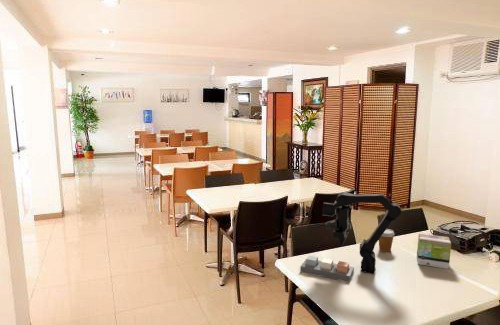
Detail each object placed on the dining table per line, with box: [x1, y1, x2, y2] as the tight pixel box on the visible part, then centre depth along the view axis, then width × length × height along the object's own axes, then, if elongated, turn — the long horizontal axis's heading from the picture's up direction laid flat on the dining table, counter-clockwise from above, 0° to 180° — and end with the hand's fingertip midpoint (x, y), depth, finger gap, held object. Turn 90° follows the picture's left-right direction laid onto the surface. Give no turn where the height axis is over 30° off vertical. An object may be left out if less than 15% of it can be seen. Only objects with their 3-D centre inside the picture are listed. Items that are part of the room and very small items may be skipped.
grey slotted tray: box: [299, 259, 355, 283], centre depth 180 cm, size 25×11×3 cm, turn 64°
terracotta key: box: [336, 260, 350, 273], centre depth 176 cm, size 5×5×5 cm
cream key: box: [320, 257, 334, 270], centre depth 180 cm, size 5×5×5 cm
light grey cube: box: [305, 255, 319, 267], centre depth 184 cm, size 5×5×5 cm
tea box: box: [416, 233, 452, 270], centre depth 189 cm, size 15×10×15 cm
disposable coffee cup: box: [378, 228, 395, 253], centre depth 208 cm, size 10×10×12 cm
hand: (341, 245), depth 185 cm, fingers closed
